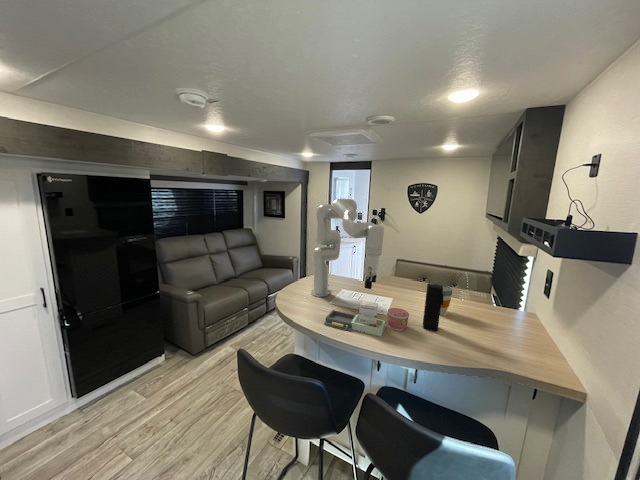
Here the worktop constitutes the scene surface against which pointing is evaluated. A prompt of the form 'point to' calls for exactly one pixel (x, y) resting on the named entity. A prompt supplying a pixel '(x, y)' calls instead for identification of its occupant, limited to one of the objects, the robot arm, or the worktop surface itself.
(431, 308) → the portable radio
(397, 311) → the container
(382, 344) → the worktop surface
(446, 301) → the reusable coffee cup
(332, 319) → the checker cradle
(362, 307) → the ink box
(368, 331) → the trough
